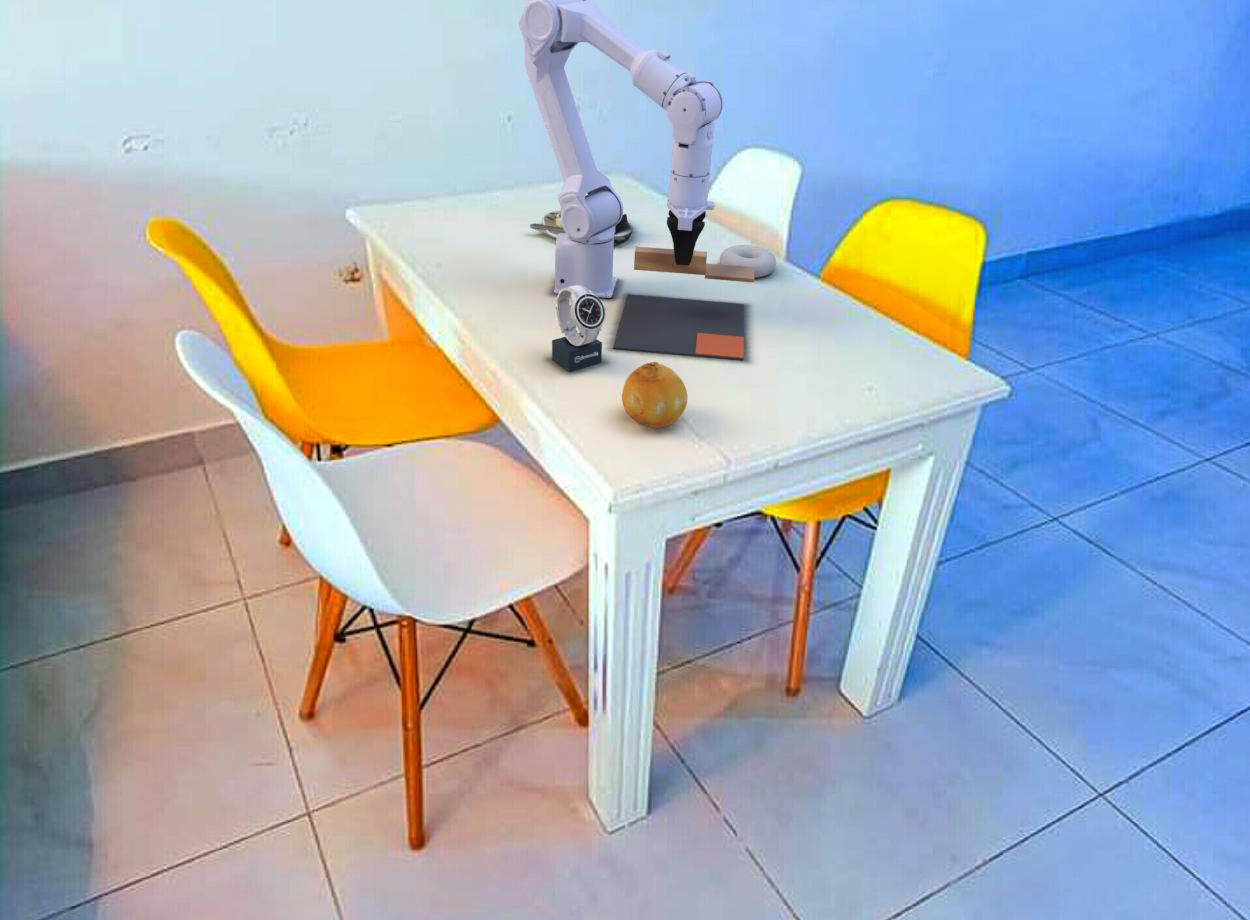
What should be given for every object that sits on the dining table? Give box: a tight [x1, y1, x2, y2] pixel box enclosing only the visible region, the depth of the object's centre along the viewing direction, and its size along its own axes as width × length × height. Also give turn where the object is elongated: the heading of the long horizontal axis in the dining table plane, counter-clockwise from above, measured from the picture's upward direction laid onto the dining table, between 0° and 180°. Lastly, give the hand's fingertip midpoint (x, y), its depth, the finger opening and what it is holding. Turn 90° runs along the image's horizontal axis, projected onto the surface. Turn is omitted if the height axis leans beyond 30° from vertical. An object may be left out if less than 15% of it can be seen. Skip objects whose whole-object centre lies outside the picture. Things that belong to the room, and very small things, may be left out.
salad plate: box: [529, 210, 633, 245], centre depth 173 cm, size 19×18×5 cm
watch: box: [551, 285, 607, 373], centre depth 127 cm, size 6×8×11 cm
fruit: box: [621, 361, 689, 429], centre depth 115 cm, size 8×8×8 cm
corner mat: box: [612, 293, 745, 361], centre depth 141 cm, size 19×20×1 cm
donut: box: [719, 244, 777, 279], centre depth 161 cm, size 10×4×10 cm
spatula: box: [633, 246, 756, 283], centre depth 141 cm, size 18×5×3 cm, turn 84°
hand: (683, 261), depth 141 cm, fingers closed on spatula, 2 cm apart
